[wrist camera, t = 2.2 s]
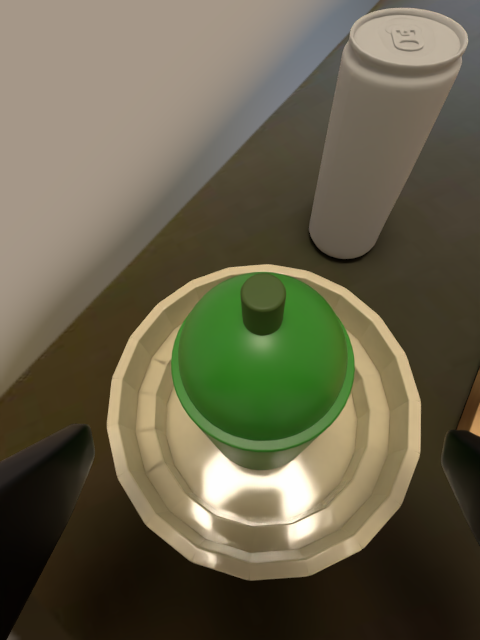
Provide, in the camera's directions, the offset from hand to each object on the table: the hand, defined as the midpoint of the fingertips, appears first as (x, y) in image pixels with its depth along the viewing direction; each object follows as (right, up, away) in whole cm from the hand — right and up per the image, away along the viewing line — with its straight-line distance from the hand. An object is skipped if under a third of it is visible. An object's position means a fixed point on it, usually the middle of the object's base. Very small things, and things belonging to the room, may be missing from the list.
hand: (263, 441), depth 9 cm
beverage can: (+7, +9, +16) cm, 19 cm away
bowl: (+1, -2, +10) cm, 11 cm away
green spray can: (+1, -2, +10) cm, 10 cm away
